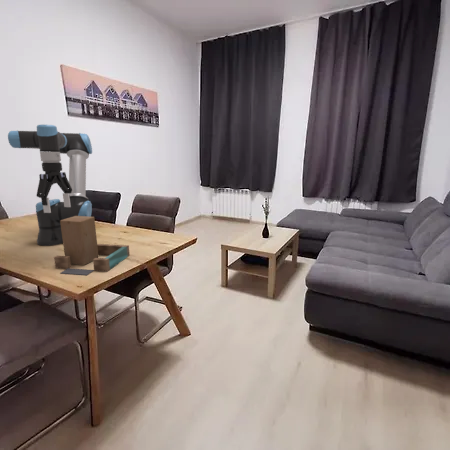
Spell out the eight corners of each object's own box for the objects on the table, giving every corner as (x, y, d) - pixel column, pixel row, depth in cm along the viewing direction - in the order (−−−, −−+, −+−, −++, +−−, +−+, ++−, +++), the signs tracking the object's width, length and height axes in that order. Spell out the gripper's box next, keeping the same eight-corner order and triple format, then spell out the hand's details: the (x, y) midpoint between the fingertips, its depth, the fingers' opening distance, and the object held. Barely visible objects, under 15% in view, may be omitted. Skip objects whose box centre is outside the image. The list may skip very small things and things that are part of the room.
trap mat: (60, 273, 118) (60, 272, 118) (68, 268, 123) (68, 268, 123) (87, 275, 116) (86, 274, 116) (94, 270, 121) (94, 269, 121)
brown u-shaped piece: (55, 268, 124) (53, 257, 122) (84, 252, 143) (83, 243, 142) (107, 271, 120) (106, 260, 119) (129, 255, 140) (128, 245, 138)
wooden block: (85, 265, 127) (79, 221, 122) (65, 263, 129) (59, 220, 124) (99, 257, 136) (94, 216, 131) (80, 256, 138) (75, 215, 133)
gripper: (38, 162, 113) (46, 215, 118) (76, 161, 137) (82, 205, 142) (20, 162, 114) (29, 215, 119) (62, 161, 138) (67, 204, 143)
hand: (58, 209), depth 131 cm, fingers open, 13 cm apart
